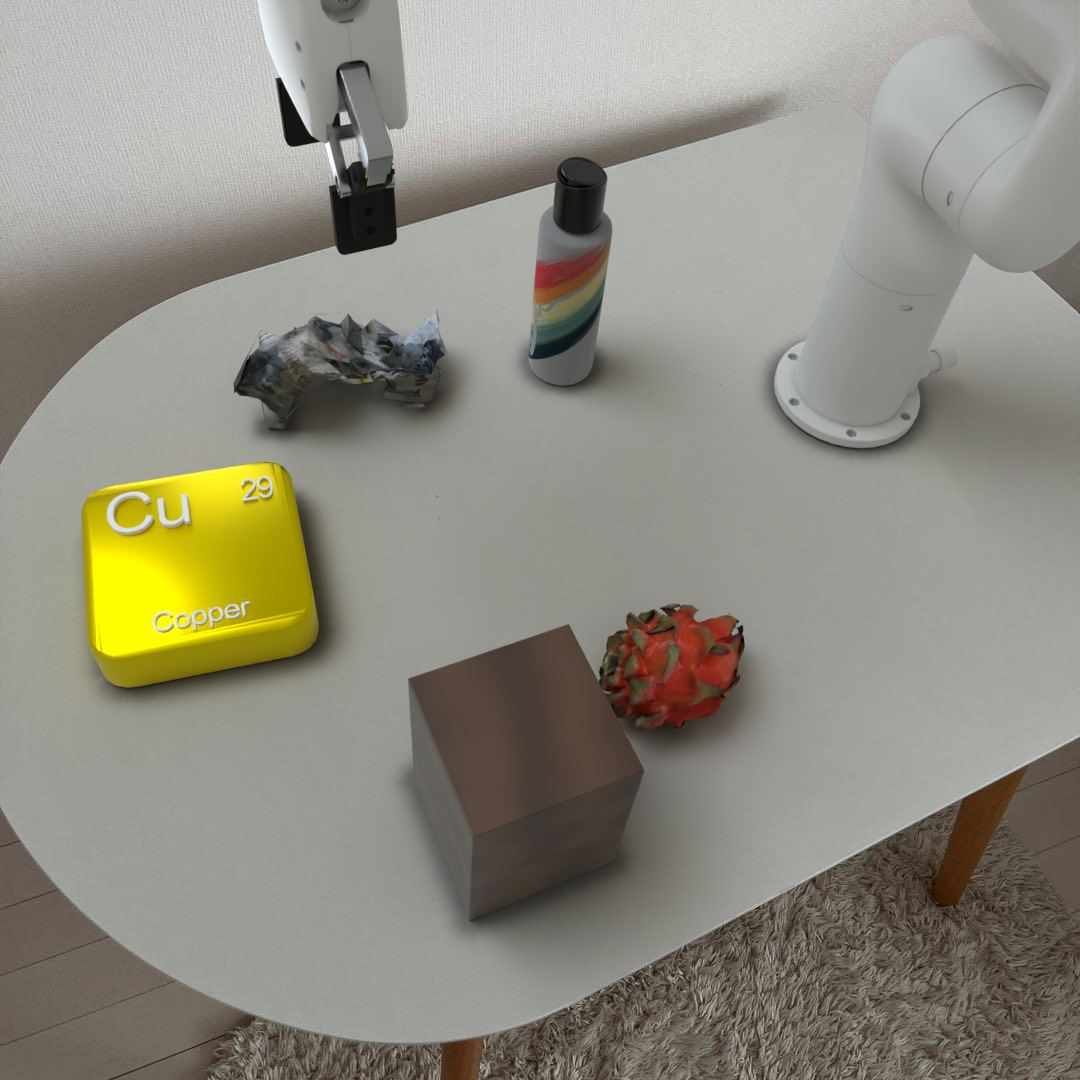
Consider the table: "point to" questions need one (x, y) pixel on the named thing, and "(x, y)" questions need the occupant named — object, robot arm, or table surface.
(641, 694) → the dragon fruit
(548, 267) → the lotion bottle
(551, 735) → the block
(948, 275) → the robot arm
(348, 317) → the foil
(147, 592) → the element tile
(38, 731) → the table surface
